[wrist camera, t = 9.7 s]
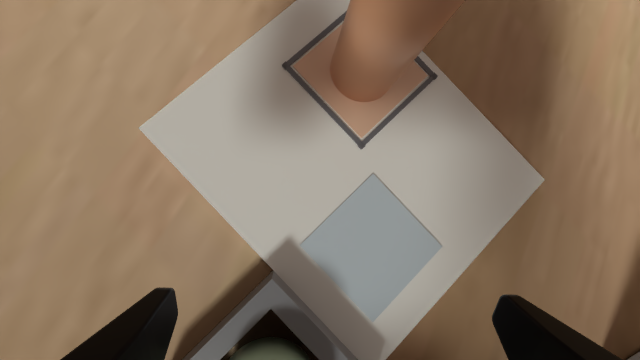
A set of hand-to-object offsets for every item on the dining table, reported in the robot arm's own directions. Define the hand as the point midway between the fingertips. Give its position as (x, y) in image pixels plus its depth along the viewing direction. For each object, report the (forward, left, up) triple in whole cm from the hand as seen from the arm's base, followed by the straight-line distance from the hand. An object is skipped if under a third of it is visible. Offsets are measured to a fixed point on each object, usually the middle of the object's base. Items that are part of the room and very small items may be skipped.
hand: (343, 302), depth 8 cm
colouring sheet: (+3, -6, -9) cm, 11 cm away
